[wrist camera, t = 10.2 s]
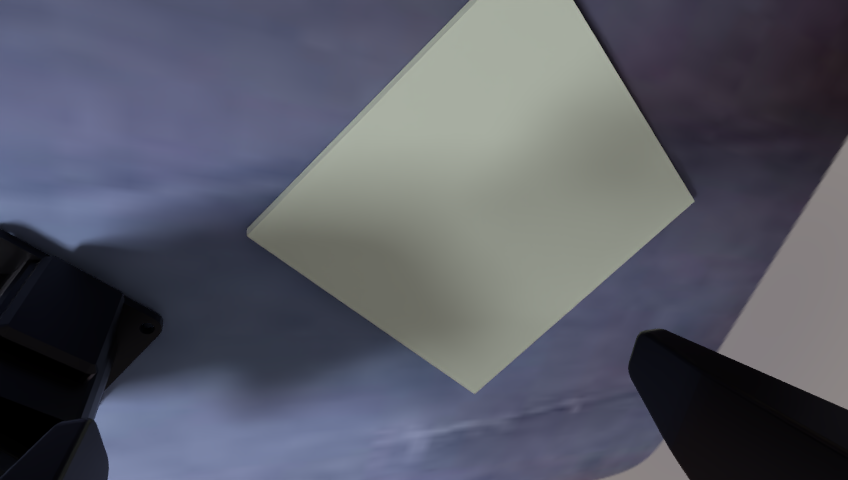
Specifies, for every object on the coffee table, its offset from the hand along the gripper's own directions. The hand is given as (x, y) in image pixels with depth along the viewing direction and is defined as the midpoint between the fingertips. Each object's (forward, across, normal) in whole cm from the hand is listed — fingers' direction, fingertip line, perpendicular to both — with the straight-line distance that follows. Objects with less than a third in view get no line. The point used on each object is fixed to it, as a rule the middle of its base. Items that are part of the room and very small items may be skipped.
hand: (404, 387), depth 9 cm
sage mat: (+12, -7, +3) cm, 14 cm away
